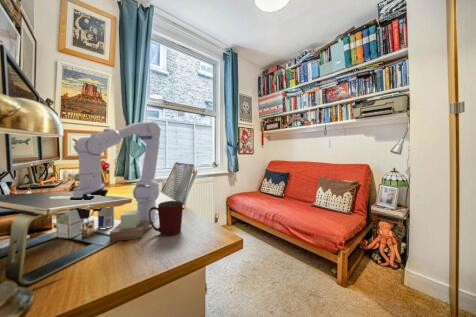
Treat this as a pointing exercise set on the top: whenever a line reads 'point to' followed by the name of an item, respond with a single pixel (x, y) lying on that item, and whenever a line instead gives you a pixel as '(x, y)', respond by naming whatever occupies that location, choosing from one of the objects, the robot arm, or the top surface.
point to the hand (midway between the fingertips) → (91, 214)
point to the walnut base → (129, 232)
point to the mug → (169, 217)
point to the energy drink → (106, 217)
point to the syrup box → (68, 224)
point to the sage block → (130, 219)
